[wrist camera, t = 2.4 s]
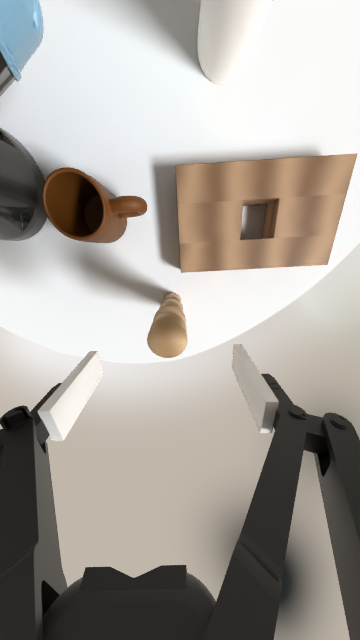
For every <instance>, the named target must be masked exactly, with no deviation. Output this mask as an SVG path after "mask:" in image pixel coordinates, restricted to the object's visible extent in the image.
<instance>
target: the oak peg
mask: <svg viewBox="0 0 360 640" xmlns="http://www.w3.org/2000/svg"><path fill="white" fill-rule="evenodd" d="M147 342H148V346H149V348H150V349H151V351H152V352H153V353H155V354H156V355H158V356H160V357H164V358H171V357H175V356H178V355H179V354H181V353H182V352H183V351H184V350H185V348H186V346H187V331H186V320H185V315H184V313H183V307H182V304H181V299H180V297H179V296H178V295H177V294H176V293H169V294H167V295H166V296H165V298H164V301H163V302H162V303H161V305H160V308H159V310H158V311H157V312H156V314H155V317H154V320H153V323H152V325H151V328H150V331H149V334H148V337H147Z"/></svg>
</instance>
